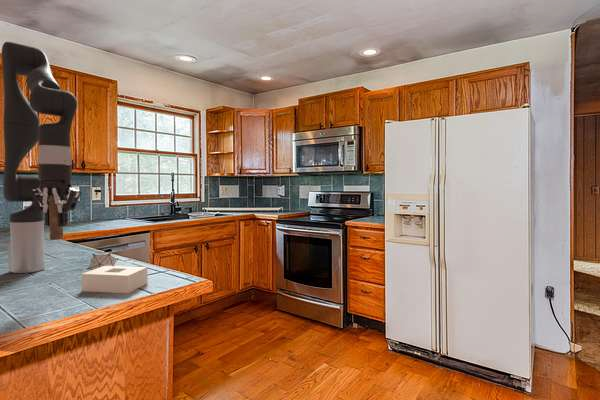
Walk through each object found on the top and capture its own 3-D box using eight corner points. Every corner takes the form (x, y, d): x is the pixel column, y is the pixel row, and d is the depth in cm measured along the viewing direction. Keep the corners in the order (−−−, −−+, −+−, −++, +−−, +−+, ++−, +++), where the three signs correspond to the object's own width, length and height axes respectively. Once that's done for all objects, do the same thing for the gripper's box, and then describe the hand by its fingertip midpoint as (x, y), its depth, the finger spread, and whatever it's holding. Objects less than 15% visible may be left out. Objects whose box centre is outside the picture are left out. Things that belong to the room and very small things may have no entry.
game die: (97, 288, 113) (75, 267, 108) (104, 273, 120) (83, 253, 116) (122, 275, 113) (101, 253, 108) (127, 260, 121) (107, 240, 116)
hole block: (81, 291, 98) (81, 273, 98) (105, 281, 108) (104, 265, 108) (128, 293, 97) (128, 275, 96) (147, 283, 107) (147, 267, 106)
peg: (47, 239, 94) (46, 195, 93) (55, 238, 97) (54, 195, 96) (57, 240, 93) (56, 195, 93) (65, 238, 96) (64, 195, 96)
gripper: (19, 162, 91) (20, 227, 92) (68, 162, 90) (69, 228, 90) (43, 163, 98) (44, 223, 99) (88, 164, 97) (89, 225, 98)
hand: (56, 225), depth 95 cm, fingers closed on peg, 3 cm apart
